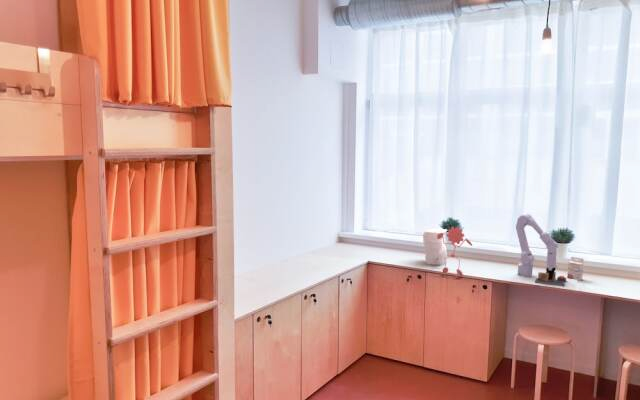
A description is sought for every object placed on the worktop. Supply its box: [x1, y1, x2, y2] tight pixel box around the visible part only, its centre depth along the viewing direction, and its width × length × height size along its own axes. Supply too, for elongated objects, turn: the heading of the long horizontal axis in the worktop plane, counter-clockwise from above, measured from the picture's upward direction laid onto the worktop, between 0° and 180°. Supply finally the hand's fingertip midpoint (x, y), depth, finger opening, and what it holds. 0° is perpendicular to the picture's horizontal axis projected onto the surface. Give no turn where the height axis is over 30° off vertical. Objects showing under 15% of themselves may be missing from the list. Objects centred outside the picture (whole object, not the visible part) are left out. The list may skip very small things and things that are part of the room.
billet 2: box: [545, 271, 557, 281], centre depth 334 cm, size 6×4×6 cm, turn 61°
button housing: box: [556, 276, 567, 283], centre depth 331 cm, size 5×5×3 cm
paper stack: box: [422, 228, 448, 266], centre depth 381 cm, size 21×27×26 cm
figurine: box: [437, 226, 473, 280], centre depth 344 cm, size 15×26×35 cm, turn 54°
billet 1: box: [537, 271, 549, 282], centre depth 327 cm, size 6×4×6 cm, turn 61°
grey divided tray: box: [534, 277, 566, 287], centre depth 325 cm, size 18×9×2 cm, turn 61°
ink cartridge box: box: [566, 256, 584, 281], centre depth 340 cm, size 9×5×15 cm, turn 44°
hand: (550, 278), depth 334 cm, fingers closed on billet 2, 4 cm apart
